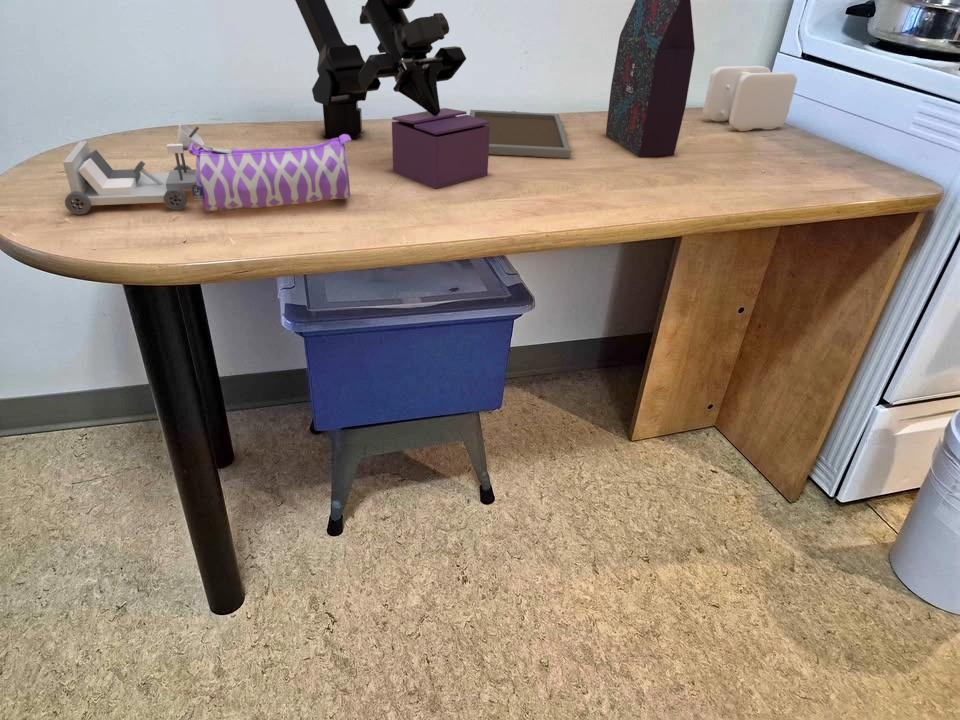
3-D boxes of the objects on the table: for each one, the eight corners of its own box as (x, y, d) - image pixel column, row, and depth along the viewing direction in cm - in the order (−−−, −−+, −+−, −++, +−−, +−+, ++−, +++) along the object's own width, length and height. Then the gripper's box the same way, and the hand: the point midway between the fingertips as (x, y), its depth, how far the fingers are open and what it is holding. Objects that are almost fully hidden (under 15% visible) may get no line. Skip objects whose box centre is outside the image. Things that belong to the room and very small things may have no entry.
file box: (392, 171, 115) (391, 117, 110) (444, 159, 122) (445, 107, 117) (435, 188, 109) (436, 132, 104) (487, 175, 115) (490, 121, 111)
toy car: (202, 117, 101) (196, 139, 92) (213, 182, 107) (208, 209, 97) (67, 119, 97) (46, 142, 88) (86, 187, 102) (68, 215, 93)
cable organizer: (727, 132, 147) (741, 74, 140) (699, 120, 155) (710, 65, 149) (784, 129, 151) (800, 73, 145) (753, 117, 159) (767, 64, 153)
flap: (392, 119, 110) (392, 117, 110) (445, 110, 117) (445, 108, 117) (413, 123, 107) (412, 121, 107) (466, 113, 114) (466, 111, 114)
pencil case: (197, 222, 93) (184, 152, 88) (195, 199, 100) (183, 133, 95) (358, 208, 100) (355, 142, 95) (346, 187, 107) (342, 125, 102)
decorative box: (638, 133, 143) (664, -20, 128) (678, 156, 130) (711, -11, 115) (602, 134, 141) (624, -21, 126) (638, 158, 128) (668, -13, 112)
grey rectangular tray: (465, 144, 124) (470, 106, 150) (465, 153, 125) (470, 114, 150) (570, 149, 124) (558, 110, 150) (569, 158, 125) (557, 118, 151)
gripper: (365, -5, 99) (414, 89, 99) (460, -9, 110) (504, 76, 110) (337, 46, 108) (382, 133, 108) (428, 38, 119) (469, 117, 119)
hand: (437, 113), depth 111 cm, fingers closed
